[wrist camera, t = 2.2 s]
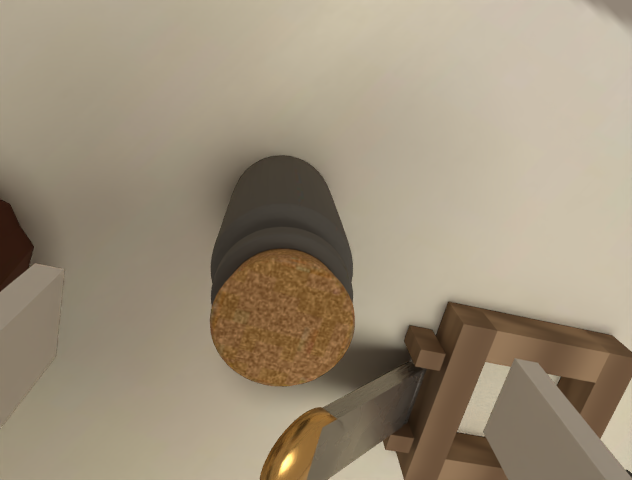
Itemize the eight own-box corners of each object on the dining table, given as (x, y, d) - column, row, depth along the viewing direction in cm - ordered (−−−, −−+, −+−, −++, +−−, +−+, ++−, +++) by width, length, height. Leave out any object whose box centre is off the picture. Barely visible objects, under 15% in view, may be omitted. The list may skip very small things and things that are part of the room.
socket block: (368, 444, 37) (375, 476, 34) (419, 295, 33) (432, 317, 31) (545, 472, 39) (566, 505, 36) (612, 335, 35) (640, 359, 33)
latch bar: (250, 513, 25) (264, 528, 24) (272, 429, 23) (288, 442, 23) (396, 416, 35) (408, 424, 35) (419, 353, 34) (432, 361, 33)
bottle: (270, 134, 29) (261, 204, 15) (350, 193, 31) (409, 308, 17) (213, 213, 31) (155, 345, 17) (292, 267, 32) (301, 430, 18)
